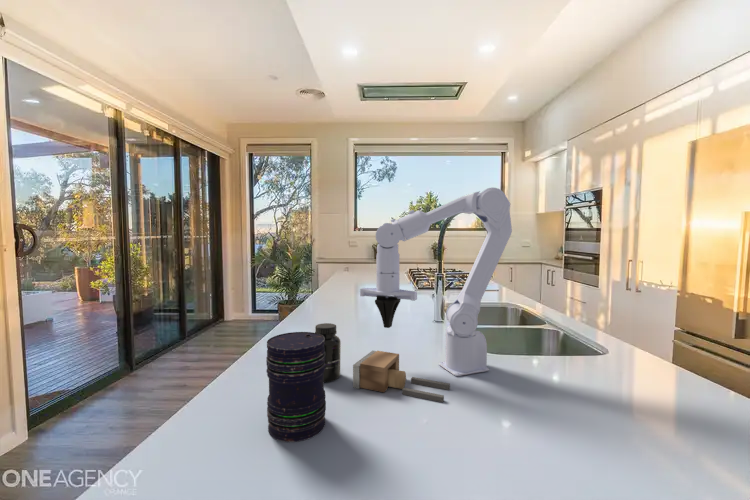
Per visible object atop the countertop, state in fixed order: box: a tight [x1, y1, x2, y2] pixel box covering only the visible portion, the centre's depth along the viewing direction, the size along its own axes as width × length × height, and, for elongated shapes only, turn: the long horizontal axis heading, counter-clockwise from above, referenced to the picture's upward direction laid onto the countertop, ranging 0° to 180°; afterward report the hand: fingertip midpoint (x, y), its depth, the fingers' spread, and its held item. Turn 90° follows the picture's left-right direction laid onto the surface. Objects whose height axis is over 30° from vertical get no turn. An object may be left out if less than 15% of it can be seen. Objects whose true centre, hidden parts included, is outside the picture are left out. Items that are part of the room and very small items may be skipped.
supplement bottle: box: [314, 322, 342, 383], centre depth 78 cm, size 7×7×12 cm
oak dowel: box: [388, 369, 407, 390], centre depth 74 cm, size 7×4×4 cm, turn 68°
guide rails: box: [401, 376, 451, 403], centre depth 71 cm, size 8×7×1 cm
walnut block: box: [360, 350, 400, 393], centre depth 76 cm, size 6×9×5 cm, turn 156°
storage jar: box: [266, 331, 327, 443], centre depth 58 cm, size 10×10×15 cm
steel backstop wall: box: [352, 350, 377, 390], centre depth 77 cm, size 2×10×5 cm, turn 156°
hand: (387, 326), depth 85 cm, fingers closed
